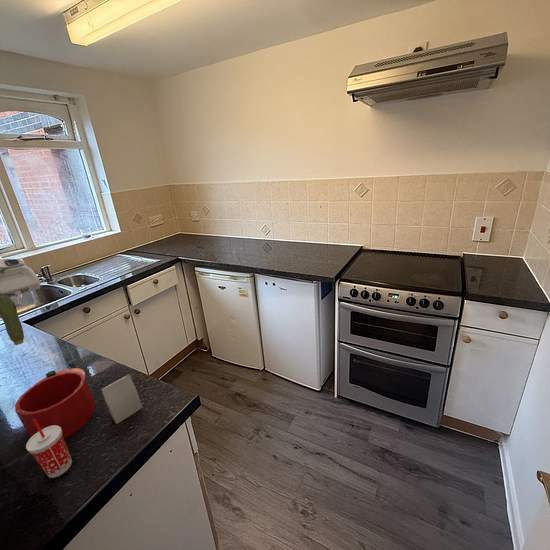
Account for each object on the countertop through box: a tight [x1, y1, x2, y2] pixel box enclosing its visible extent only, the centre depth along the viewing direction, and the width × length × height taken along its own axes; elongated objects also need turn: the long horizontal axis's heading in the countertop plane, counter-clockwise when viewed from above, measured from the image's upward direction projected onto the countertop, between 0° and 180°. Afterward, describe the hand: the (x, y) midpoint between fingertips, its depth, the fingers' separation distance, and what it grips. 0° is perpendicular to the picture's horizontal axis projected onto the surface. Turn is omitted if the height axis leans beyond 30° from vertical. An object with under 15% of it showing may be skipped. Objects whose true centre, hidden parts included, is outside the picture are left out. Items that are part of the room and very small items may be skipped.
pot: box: [14, 371, 97, 440], centre depth 77 cm, size 15×15×10 cm
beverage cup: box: [25, 419, 73, 479], centre depth 63 cm, size 6×6×14 cm
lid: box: [34, 367, 87, 385], centre depth 90 cm, size 16×16×6 cm
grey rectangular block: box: [101, 374, 144, 425], centre depth 77 cm, size 4×7×10 cm, turn 135°
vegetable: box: [0, 291, 25, 346], centre depth 87 cm, size 4×4×20 cm
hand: (6, 310), depth 87 cm, fingers closed on vegetable, 4 cm apart
